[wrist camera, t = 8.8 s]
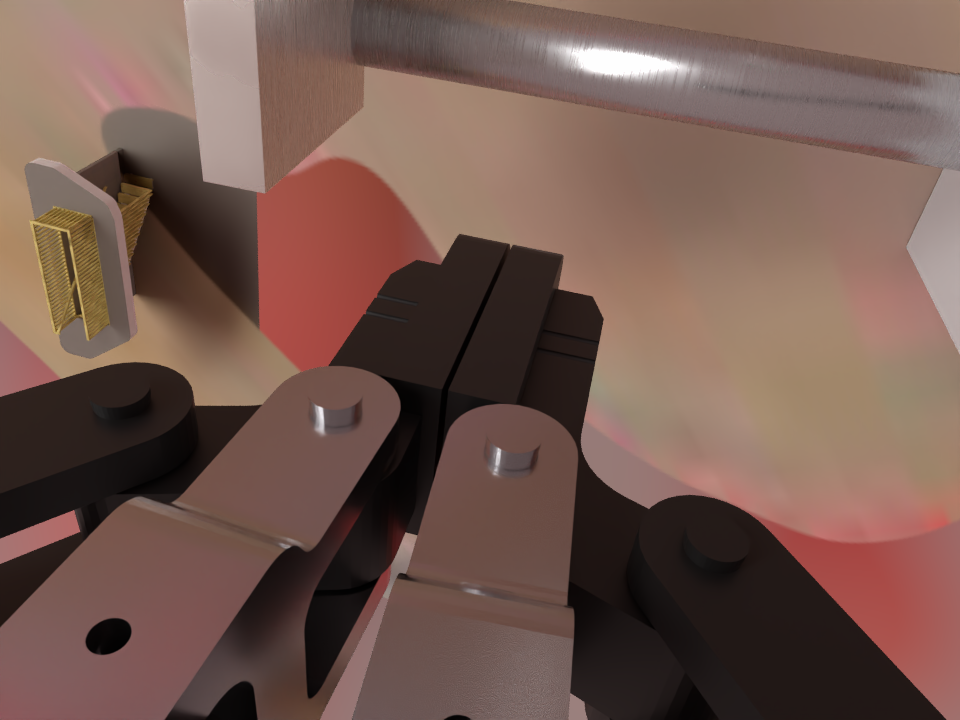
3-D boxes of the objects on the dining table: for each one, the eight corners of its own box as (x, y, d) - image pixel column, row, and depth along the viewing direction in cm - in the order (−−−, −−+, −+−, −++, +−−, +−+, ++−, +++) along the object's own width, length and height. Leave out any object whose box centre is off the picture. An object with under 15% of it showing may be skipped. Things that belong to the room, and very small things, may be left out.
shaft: (1314, 65, 20) (1630, 189, 13) (1188, 242, 23) (1393, 417, 16) (327, -87, 23) (178, -48, 16) (329, 87, 26) (203, 180, 19)
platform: (254, 71, 33) (172, 118, 28) (260, 394, 44) (202, 472, 39) (-1, 13, 35) (-125, 48, 29) (66, 342, 45) (-17, 411, 40)
